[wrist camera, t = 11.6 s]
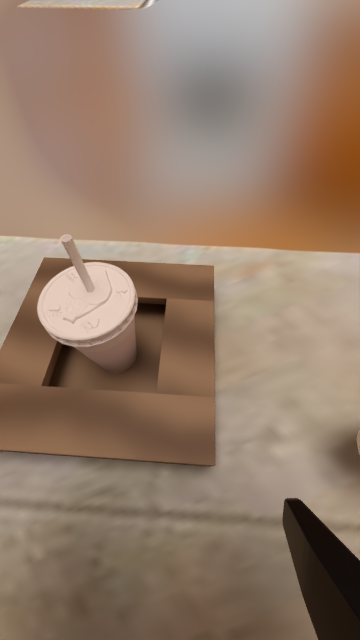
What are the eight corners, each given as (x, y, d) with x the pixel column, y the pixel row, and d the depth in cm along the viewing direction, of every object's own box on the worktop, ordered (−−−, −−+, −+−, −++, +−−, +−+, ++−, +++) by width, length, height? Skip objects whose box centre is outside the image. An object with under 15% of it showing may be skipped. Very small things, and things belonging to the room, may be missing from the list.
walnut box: (209, 466, 20) (215, 465, 17) (-9, 450, 21) (-46, 446, 17) (209, 289, 29) (213, 265, 26) (59, 281, 30) (44, 257, 27)
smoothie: (161, 339, 25) (145, 222, 13) (131, 398, 22) (76, 315, 10) (106, 318, 27) (47, 195, 15) (71, 372, 24) (-40, 271, 12)
